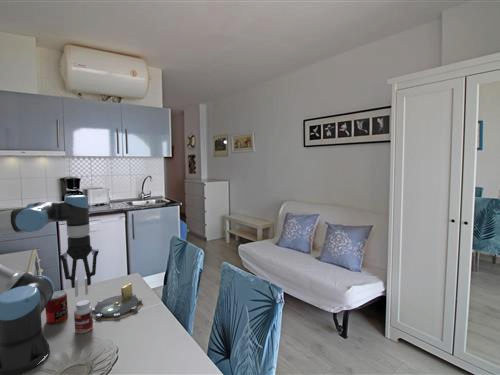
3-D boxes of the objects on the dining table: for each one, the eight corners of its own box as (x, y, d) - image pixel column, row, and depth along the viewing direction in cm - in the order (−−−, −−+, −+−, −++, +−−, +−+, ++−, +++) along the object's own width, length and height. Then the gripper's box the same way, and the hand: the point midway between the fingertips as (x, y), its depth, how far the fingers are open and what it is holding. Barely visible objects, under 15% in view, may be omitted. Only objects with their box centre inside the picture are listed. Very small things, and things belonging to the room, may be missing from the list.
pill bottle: (73, 335, 110) (71, 307, 109) (77, 326, 116) (75, 300, 115) (91, 332, 112) (89, 305, 111) (94, 324, 118) (93, 298, 117)
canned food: (57, 325, 117) (55, 299, 116) (41, 323, 119) (39, 297, 118) (72, 315, 125) (71, 291, 124) (57, 313, 126) (55, 289, 126)
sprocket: (151, 300, 137) (150, 285, 136) (117, 323, 117) (116, 305, 117) (117, 294, 144) (116, 279, 144) (79, 314, 125) (78, 297, 124)
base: (143, 313, 126) (143, 313, 126) (89, 325, 117) (89, 324, 117) (139, 294, 145) (139, 293, 145) (92, 303, 136) (92, 302, 136)
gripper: (101, 231, 118) (104, 286, 120) (56, 235, 111) (59, 294, 113) (101, 235, 111) (104, 294, 113) (52, 240, 104) (56, 302, 106)
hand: (81, 294), depth 113 cm, fingers open, 3 cm apart
